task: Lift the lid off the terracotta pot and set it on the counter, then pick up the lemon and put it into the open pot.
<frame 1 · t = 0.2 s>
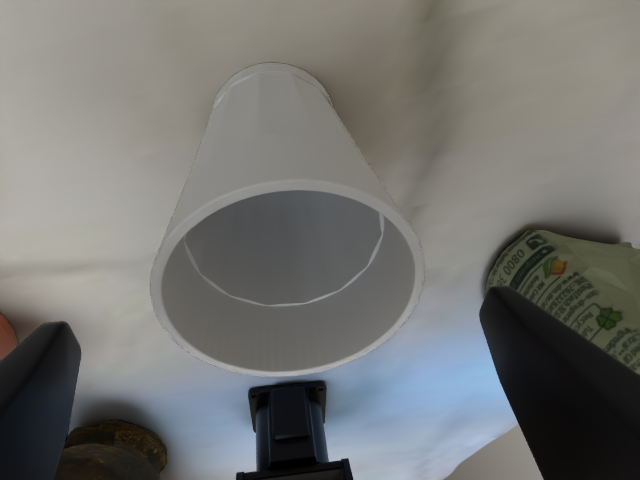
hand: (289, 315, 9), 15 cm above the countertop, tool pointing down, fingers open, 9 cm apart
pottery vessel: (115, 450, 40), on the countertop
pouch: (553, 269, 32), on the countertop
cup: (274, 125, 22), on the countertop
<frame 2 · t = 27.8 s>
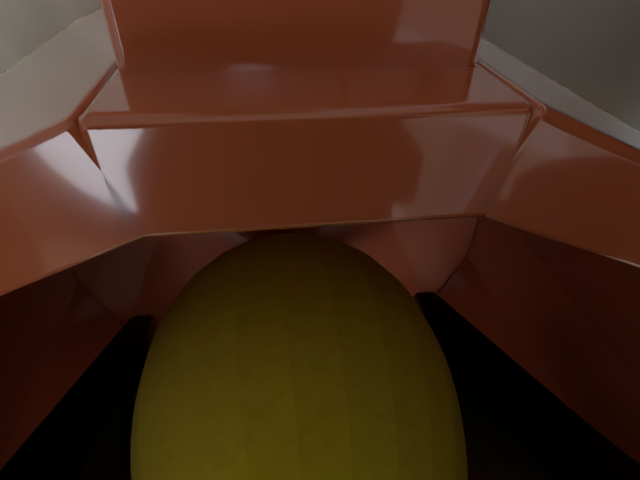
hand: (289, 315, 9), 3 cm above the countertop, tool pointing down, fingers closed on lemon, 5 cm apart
lemon: (282, 254, 11), point 1 cm above the countertop, touching gripper
pot: (280, 226, 12), on the countertop
when the fingers open (6 cm above the countertop, at t = 33.5 s): lemon drops 4 cm, resting on pot.
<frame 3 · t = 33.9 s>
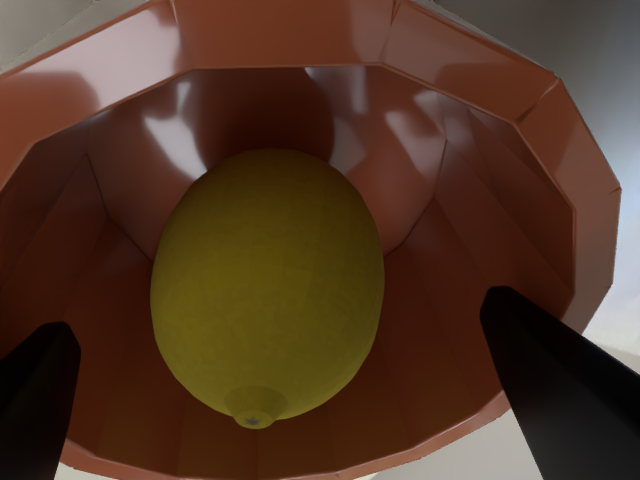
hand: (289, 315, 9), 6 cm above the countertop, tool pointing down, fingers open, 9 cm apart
lemon: (283, 179, 14), point 1 cm above the countertop, touching pot
pot: (276, 168, 14), on the countertop
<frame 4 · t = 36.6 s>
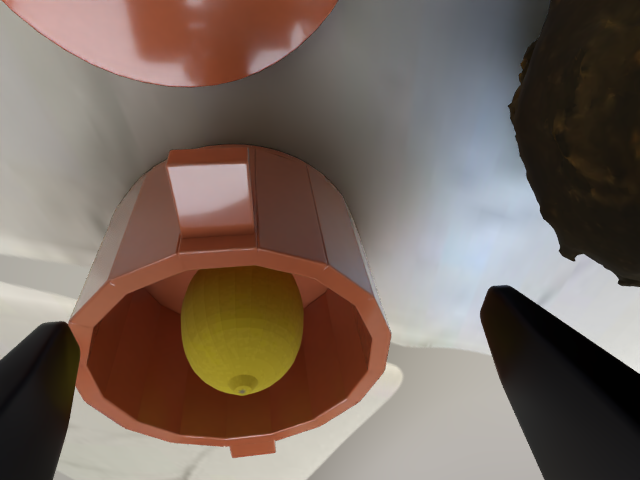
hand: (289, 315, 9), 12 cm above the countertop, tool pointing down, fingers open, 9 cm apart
pottery vessel: (619, 103, 19), point 2 cm above the countertop, touching arm, gripper
lemon: (244, 256, 23), resting on pot
pot: (240, 250, 23), on the countertop
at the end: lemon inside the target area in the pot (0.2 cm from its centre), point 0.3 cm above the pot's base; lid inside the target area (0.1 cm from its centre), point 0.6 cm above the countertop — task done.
